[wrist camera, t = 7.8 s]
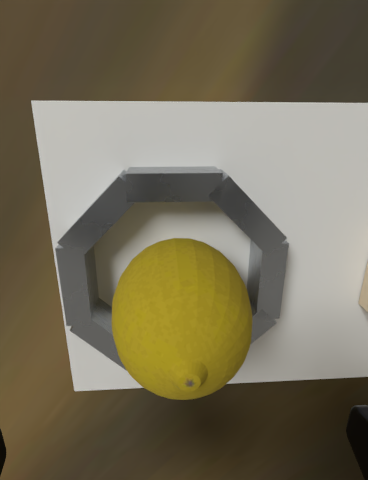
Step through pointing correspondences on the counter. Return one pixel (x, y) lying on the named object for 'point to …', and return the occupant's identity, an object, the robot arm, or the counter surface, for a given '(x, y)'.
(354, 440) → the robot arm
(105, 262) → the board
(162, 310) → the lemon
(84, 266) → the ring
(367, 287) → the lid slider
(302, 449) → the counter surface
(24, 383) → the counter surface
